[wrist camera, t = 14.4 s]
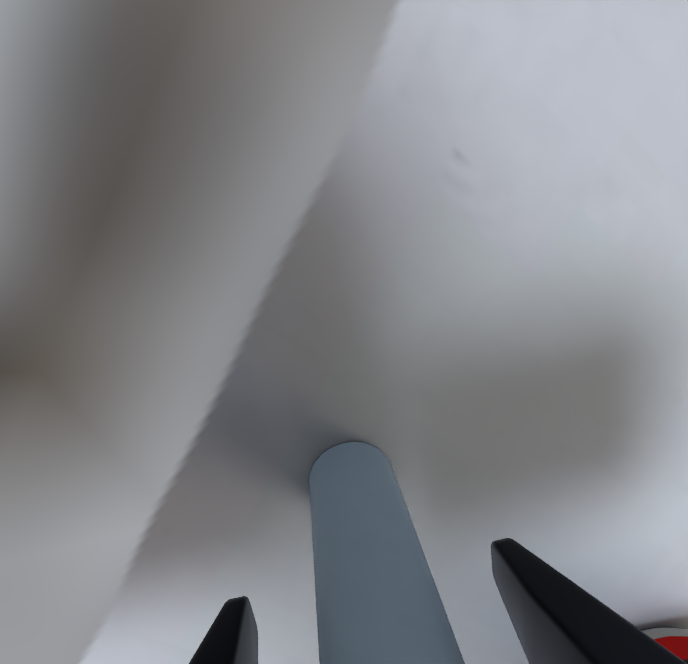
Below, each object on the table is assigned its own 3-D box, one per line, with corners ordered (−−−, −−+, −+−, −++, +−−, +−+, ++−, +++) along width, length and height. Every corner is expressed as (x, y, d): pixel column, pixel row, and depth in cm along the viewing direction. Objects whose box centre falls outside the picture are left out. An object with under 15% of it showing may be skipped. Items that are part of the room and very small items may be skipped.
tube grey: (331, 531, 13) (444, 1515, 3) (286, 464, 12) (260, 1529, 2) (411, 490, 13) (777, 1381, 3) (373, 420, 12) (707, 1345, 2)
